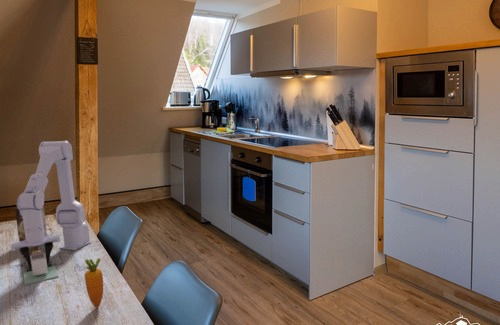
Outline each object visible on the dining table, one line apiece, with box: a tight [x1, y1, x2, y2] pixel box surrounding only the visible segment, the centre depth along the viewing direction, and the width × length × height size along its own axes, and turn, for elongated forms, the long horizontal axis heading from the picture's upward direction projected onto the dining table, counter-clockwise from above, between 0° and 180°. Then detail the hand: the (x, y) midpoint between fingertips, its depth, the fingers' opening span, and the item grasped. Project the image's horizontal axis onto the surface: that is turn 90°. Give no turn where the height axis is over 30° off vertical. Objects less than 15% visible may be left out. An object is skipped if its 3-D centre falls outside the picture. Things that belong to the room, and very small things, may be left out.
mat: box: [22, 265, 59, 286], centre depth 140 cm, size 10×10×1 cm
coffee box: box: [14, 204, 48, 242], centre depth 171 cm, size 9×6×16 cm
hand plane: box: [24, 244, 53, 272], centre depth 154 cm, size 20×8×6 cm, turn 30°
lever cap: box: [30, 252, 48, 276], centre depth 140 cm, size 6×4×6 cm
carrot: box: [84, 257, 104, 309], centre depth 116 cm, size 5×5×15 cm
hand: (39, 265), depth 140 cm, fingers closed on lever cap, 4 cm apart
